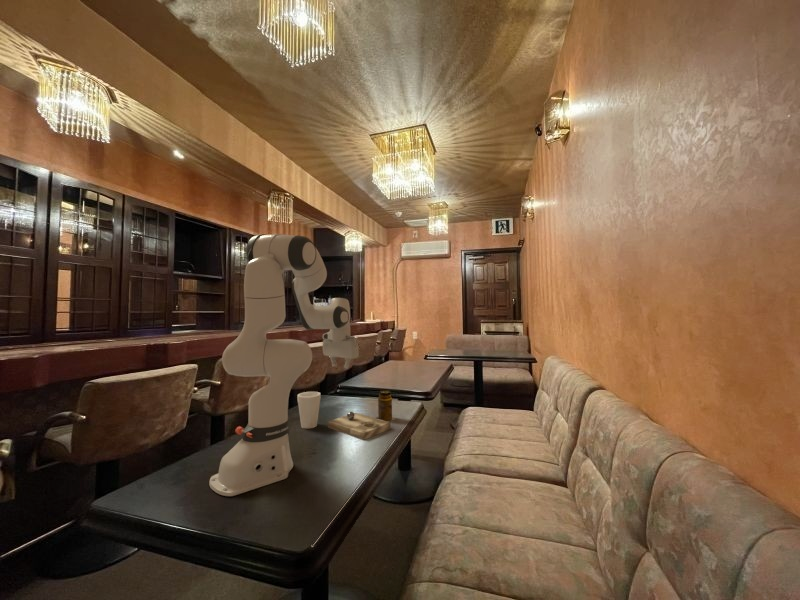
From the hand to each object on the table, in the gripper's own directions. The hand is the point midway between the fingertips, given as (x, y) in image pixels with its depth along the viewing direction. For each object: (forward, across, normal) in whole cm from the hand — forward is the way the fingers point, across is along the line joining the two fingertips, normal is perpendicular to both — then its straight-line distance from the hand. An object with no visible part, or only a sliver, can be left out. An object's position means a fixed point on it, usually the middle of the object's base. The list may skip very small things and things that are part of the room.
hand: (340, 367), depth 141 cm
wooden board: (+23, -12, 0) cm, 26 cm away
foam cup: (+24, +7, +11) cm, 27 cm away
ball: (+19, -6, 0) cm, 20 cm away
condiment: (+24, -12, -14) cm, 30 cm away
